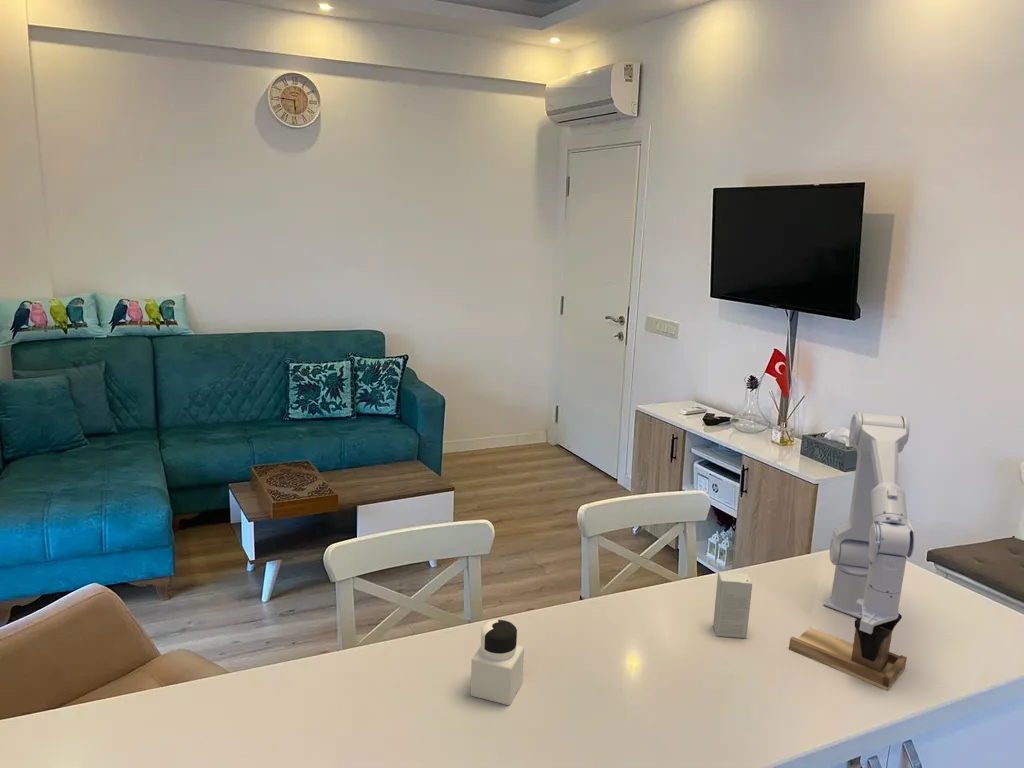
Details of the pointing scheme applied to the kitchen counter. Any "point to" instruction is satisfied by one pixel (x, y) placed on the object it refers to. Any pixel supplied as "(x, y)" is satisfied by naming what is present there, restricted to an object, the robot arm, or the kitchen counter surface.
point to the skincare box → (732, 604)
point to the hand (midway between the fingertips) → (873, 653)
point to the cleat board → (845, 657)
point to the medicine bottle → (497, 663)
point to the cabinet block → (881, 657)
